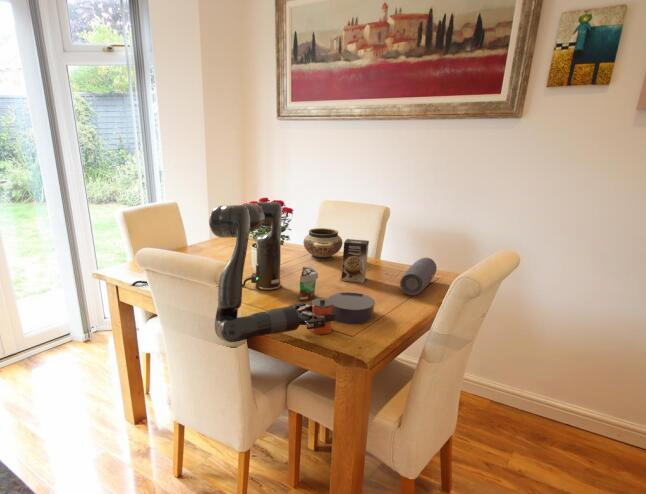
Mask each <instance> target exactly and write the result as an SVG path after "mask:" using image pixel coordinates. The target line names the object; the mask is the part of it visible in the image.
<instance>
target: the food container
mask: <svg viewBox="0 0 646 494" xmlns="http://www.w3.org/2000/svg"><path fill="white" fill-rule="evenodd" d="M300 274H301V275H300V276H299V302H308V301H313V300H314V299H315V292H316V284H317V279H319V274H318V270H317V269H316V268H313V267H309V266H302V271H301V273H300Z"/></svg>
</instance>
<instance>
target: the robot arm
mask: <svg viewBox="0 0 646 494" xmlns="http://www.w3.org/2000/svg"><path fill="white" fill-rule="evenodd" d="M282 220H283V208H282V205H281V203H279V202H277V201H275V202H274V201H270V202H269V201H257V202H254V203H252V202H251V203H250V202H249V203H243V204H233V205H230V204H229V205H218V206H215V207H214V208H213V209H212V211H211V212H210V215H209V219H208V225H209V229H210V231H211V233H212V234H213V235H214V236H216V237H218V238H224V239H226V238H227V239H231V238H235V243H234V244H235V245H234V249H233V251H232V253H231V255H230V257H229V259H228V261H227V263H226V264H225V266H224V267H223V269H222V270H221V273H220V275H219V277H218V282H217V284H218V286H217V307H216V312H215V319H214V332H215V334H216V336H217V337H218V339H220V340H221V341H225V342H228V343H238V342H242V341H246V340H249V339H252V338H255V337H261V336H267V335H276V334H283V333H288V332H293V331H297V330H299V329H298V328H300V326H306V330H311V329H315V328H322V327H325V324H326V322H331V323H332V322H334V321H336V320H335V315H334V314H328V315H323V316H322V315H317V314H316V313H312V304H306V302H300V303H296V304H295V303H294V304H289V305H288V306H283V307H278V308H271V309H268V310H264V311H259V312H254V313H250V314H248V315H245V316H239V317H238V313H239V309H240V308H241V307H242V303H243V287H244V286H246V283H247V282H248V281H250V283H251V284H255V289H258V290H262V291H274V290H275V291H276V290H278V289H280V288H281V245H282V244H281V242H282V241H281V240H282V237H281V236H282ZM260 228H271V229H270V231H268V232H267V233H263V234H260V235H259V236H257V237H256V265H255V272H252V274H251V276H250V277H246V278H245V279H244V278H243V277H244V270H245V265H246V264H245V263H246V257H247V252H248V245H249V244H248V243H249V237H250V233H251V232H255V231H257V230H259V229H260ZM243 279H244V280H243ZM137 284H147V285H149V284H148V283H147V280H145V281H144V280H136V281H133V283H132V284H131V286H135V285H137ZM313 317H314V320H312V319H313ZM317 318H321V319H317ZM319 324H320V325H319ZM135 359H139V356H138V355H135Z"/></svg>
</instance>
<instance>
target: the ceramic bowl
mask: <svg viewBox="0 0 646 494" xmlns="http://www.w3.org/2000/svg"><path fill="white" fill-rule="evenodd" d="M343 244H344V241H343V239H342V237H341V236H340V235H339V231H338V230H336V229H333V228H325V227H324V228H323V227H321V228H320V227H319V228H317V227H316V228H310V229H309V230H308V234H306V235H305V237H304V238H303V246H304V249H305V250H306V251H307V253H309V254H310V255H311V259H313V260H316V261H322V262H323V261H330V260H332V259H333V256H334V255H336V254H337V253H338V252H340V251H341V249H342V247H343Z"/></svg>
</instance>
